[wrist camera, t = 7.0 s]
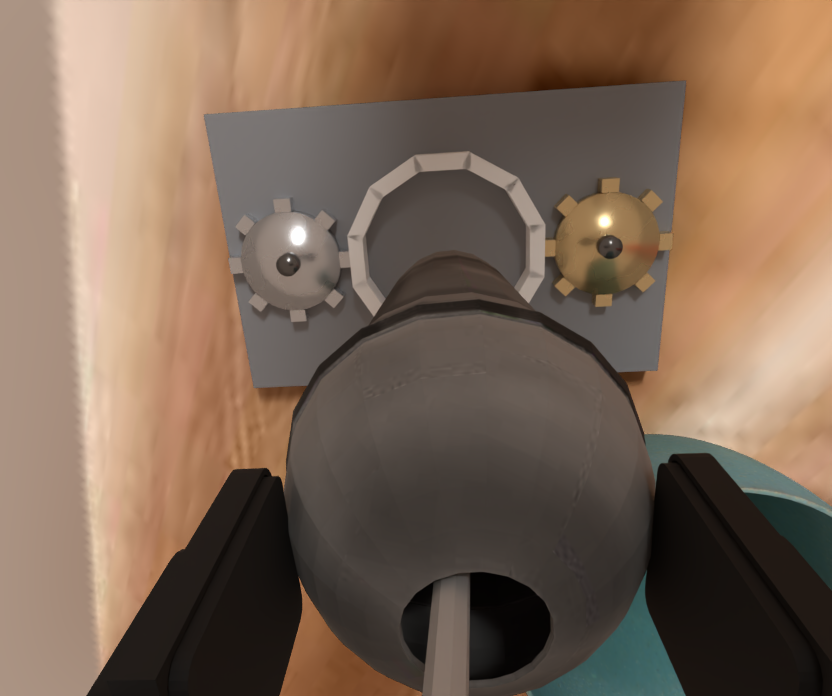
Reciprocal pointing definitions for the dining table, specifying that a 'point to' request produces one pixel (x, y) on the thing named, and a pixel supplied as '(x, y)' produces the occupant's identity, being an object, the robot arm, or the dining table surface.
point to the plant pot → (636, 635)
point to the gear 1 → (291, 259)
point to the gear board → (448, 202)
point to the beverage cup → (468, 488)
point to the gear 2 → (606, 242)
